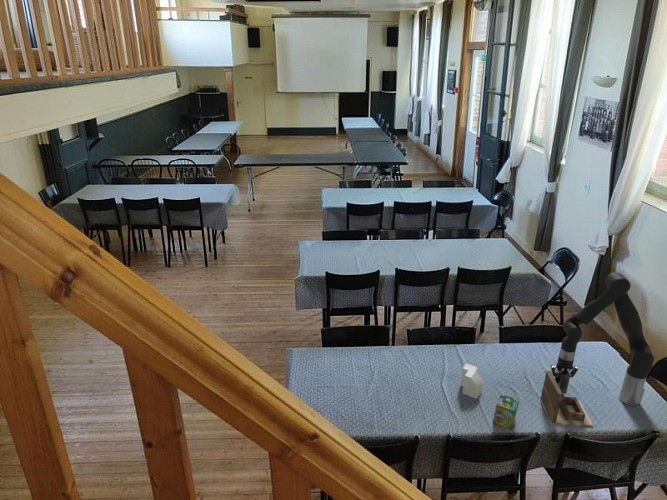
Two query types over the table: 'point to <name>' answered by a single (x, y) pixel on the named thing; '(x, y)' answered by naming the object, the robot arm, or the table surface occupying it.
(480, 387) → the white stepped block
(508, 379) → the table surface
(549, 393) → the post socket
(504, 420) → the chalk box
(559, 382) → the dark grey block
